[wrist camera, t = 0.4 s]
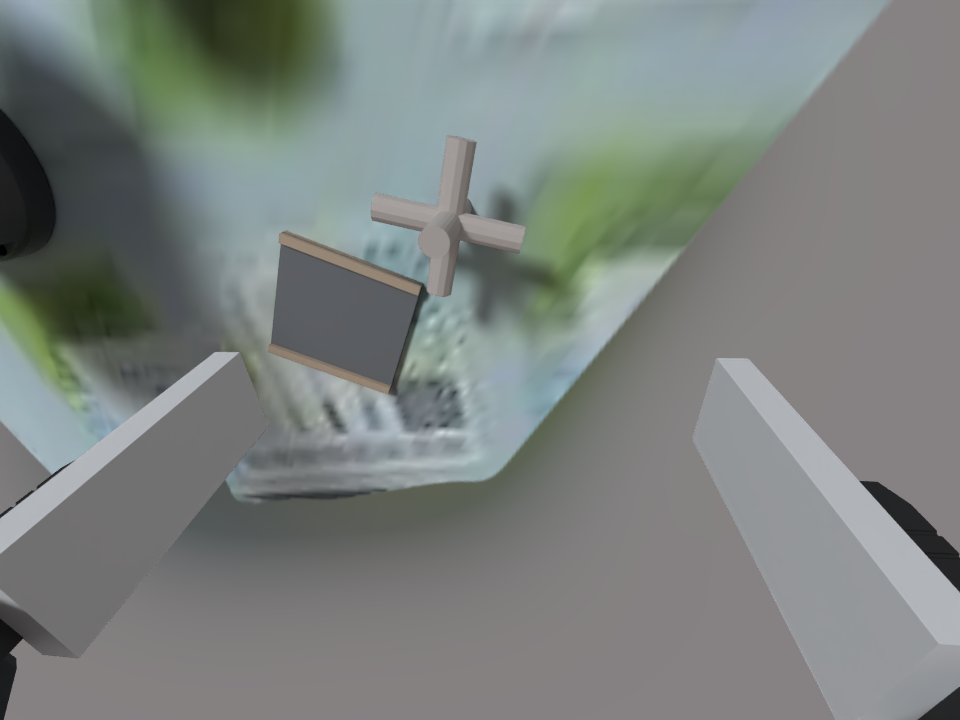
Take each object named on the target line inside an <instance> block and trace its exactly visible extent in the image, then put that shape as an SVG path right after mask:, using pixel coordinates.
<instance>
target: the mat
mask: <svg viewBox="0 0 960 720" xmlns="http://www.w3.org/2000/svg"><path fill="white" fill-rule="evenodd" d="M279 243H280V244H281V249H280V259H279V269H278V279H277V289H276V299H275V309H274V319H273V329H272V339H271V344H270V345H269V349H268V352H270V353H272V354H275V355H278V356H281V357H284V358H287V359H289V360H292V361H295V362H298V363H301V364H304V365H306V366H309V367H312V368H315V369H318V370H320V371H323V372H326V373H329V374H332V375H335V376H337V377H340V378H343V379H346V380H349V381H351V382H354V383H357V384H360V385H363V386H366V387H368V388H371V389H374V390H377V391H380V392H382V393H385V394H388V393H389V391H390V389H391V386H392V383H393V379H394V376H395V373H396V370H397V367H398V363H399V360H400V357H401V354H402V350H403V347H404V344H405V341H406V337H407V334H408V331H409V328H410V324H411V321H412V318H413V315H414V311H415V308H416V305H417V302H418V298H419V295H420V292H421V289H422V285H423V283H421V282H418V281H416V280H413V279H410V278H408V277H405V276H403V275H400V274H397V273H395V272H392V271H390V270H387V269H384V268H382V267H379V266H377V265H374V264H371V263H369V262H366V261H364V260H361V259H358V258H356V257H353V256H351V255H348V254H345V253H343V252H340V251H338V250H335V249H332V248H330V247H327V246H325V245H322V244H319V243H317V242H314V241H312V240H309V239H306V238H304V237H301V236H299V235H296V234H293V233H291V232H288V231H284V232H282V233H280V234H279Z"/></svg>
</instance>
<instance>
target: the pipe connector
mask: <svg viewBox="0 0 960 720" xmlns="http://www.w3.org/2000/svg"><path fill="white" fill-rule="evenodd" d="M475 148H476V141H473V140H470V139H466V138H461V137H457V136H450V135H447V139H446V146H445V154H444V161H443V169H442V176H441V184H440V191H439V199H438V207H437V206H433V205H428V204H424V203H420V202H415V201H411V200H406V199H402V198H397V197H393V196H389V195H384V194H380V193H375V195H374V196H373V199H372V204H371V218H372V221H377V222H381V223H386V224H390V225H395V226H399V227H403V228H408V229H412V230H417V231H421V233H420V234H419V238H418V244H419V247H420V249H421V251H422V252H423V253H424V254H425V255H426V256H428V257H430V258H431V259H430V267H429V274H428V282H427V292H428V293H430V294H432V295H434V296H439V297H446V296H449V295H451V291H452V285H453V279H454V273H455V267H456V261H457V255H458V249H459V243H460V240H461V241H466V242H470V243H474V244H479V245H483V246H488V247H492V248H497V249H501V250H505V251H510V252H514V253H519V252H520V249H521V245H522V241H523V237H524V232H525V226H521V225H517V224H512V223H508V222H504V221H499V220H495V219H490V218H486V217H481V216H477V215H473V214H471V211H472V206H471V203H470V201H469V200H468V198H467V195H468V190H469V184H470V178H471V172H472V166H473V160H474V154H475Z"/></svg>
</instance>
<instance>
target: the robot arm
mask: <svg viewBox="0 0 960 720" xmlns="http://www.w3.org/2000/svg"><path fill="white" fill-rule="evenodd" d="M53 226H54V205H53V199H52V195H51V191H50V188H49V185H48V182H47V180H46V177H45V175H44V173H43V171H42V169H41V166H40V164H39V163H38V161H37V159H36V157H35V155H34V154H33V152H32V151H31V149H30V147H29V146H28V144H27V143H26V141H25V140H24V139H23V137H22V136H21V135H20V133H19V132H18V131H17V129H16V128H15V127H14V126H13V125H12V123H11V122H10V121H9V120H8V119H7V118H6V117H5V115H4V114H3V113H2V112H1V111H0V262H1V261H6V260H10V259H13V258H17V257H21V256H24V255H28V254H31V253H34V252H36V251H37V250H39V249H40V248H42V247H43V246H44V245H45V244H46V243H47V241H48V240H49V238H50V236H51V233H52V230H53ZM268 426H269V425H268V422H267V420H266V417H265V415H264V412H263V410H262V407H261V404H260V402H259V399H258V397H257V394H256V392H255V389H254V387H253V384H252V382H251V379H250V377H249V374H248V372H247V369H246V367H245V364H244V362H243V359H242V357H241V354H240V352H214V353H213V354H212V355H211V356H209V357H208V358H207V359H205V360H204V361H203V362H202V363H200V364H199V365H198V366H196V367H195V368H194V369H193V370H191V371H190V372H189V373H187V374H186V375H185V376H183V377H182V378H181V379H180V380H178V381H177V382H176V383H174V384H173V385H172V386H171V387H169V388H168V389H167V390H165V391H164V392H163V393H162V394H160V395H159V396H158V397H156V398H155V399H154V400H152V401H151V402H150V403H149V404H147V405H146V406H145V407H143V408H142V409H141V410H140V411H138V412H137V413H136V414H134V415H133V416H132V417H131V418H129V419H128V420H127V421H125V422H124V423H123V424H122V425H120V426H119V427H118V428H116V429H115V430H114V431H112V432H111V433H110V434H109V435H107V436H106V437H105V438H103V439H102V440H101V441H100V442H98V443H97V444H96V445H94V446H93V447H92V448H91V449H89V450H88V451H87V452H85V453H84V454H83V455H81V456H80V457H79V458H78V459H76V460H75V461H73V462H71V463H69V464H67V465H65V466H64V467H62V468H60V469H59V470H58V471H57V472H55V473H54V474H53V475H51V476H50V477H49V478H47V479H46V480H45V481H44V482H42V483H41V484H40V485H38V486H37V489H36V490H35V491H31V492H29V493H28V494H27V495H25V496H24V497H23V498H21V499H20V500H19V501H17V502H16V506H15V507H10V508H8V509H7V510H6V511H4V512H3V513H2V514H1V515H0V720H4V716H5V712H6V708H7V704H8V700H9V697H10V692H11V688H12V684H13V681H14V677H15V673H16V669H17V666H16V658H15V657H14V656H12V655H11V654H10V651H11V650H12V649H13V648H14V647H15V646H16V645H17V644H18V643H19V642H20V641H21V640H22V639H24V640H25V641H26V642H28V643H29V644H30V645H31V646H33V647H34V648H35V649H36V650H37V651H39V652H40V653H41V654H42V655H50V656H60V657H70V658H80V657H81V655H82V654H83V653H84V652H85V650H86V649H87V648H88V647H89V646H90V644H91V643H92V642H93V641H94V639H95V638H96V637H97V636H98V634H99V633H100V632H101V631H102V630H103V628H104V627H105V626H106V625H107V624H108V622H109V621H110V620H111V619H112V617H113V616H114V615H115V614H116V612H117V611H118V610H119V609H120V608H121V606H122V605H123V604H124V603H125V601H126V600H127V599H128V598H129V597H130V595H131V594H132V593H133V592H134V590H135V589H136V588H137V587H138V585H139V584H140V583H141V582H142V581H143V579H144V578H145V577H146V576H147V575H148V573H149V572H150V571H151V570H152V568H153V567H154V566H155V565H156V563H157V562H158V561H159V560H160V559H161V557H162V556H163V555H164V554H165V552H166V551H167V550H168V549H169V548H170V546H171V545H172V544H173V543H174V541H175V540H176V539H177V538H178V537H179V535H180V534H181V533H182V532H183V530H184V529H185V528H186V527H187V525H188V524H189V523H190V522H191V520H192V519H193V518H194V517H195V516H196V514H197V513H198V512H199V511H200V510H201V508H202V507H203V506H204V505H205V503H206V502H207V501H208V500H209V498H210V497H211V496H212V495H213V494H214V492H215V491H216V490H217V489H218V487H219V486H220V485H221V484H222V483H223V481H224V480H225V479H226V478H227V476H228V475H229V474H230V473H231V472H232V470H233V469H234V468H235V467H236V465H237V464H238V463H239V462H240V461H241V459H242V458H243V457H244V456H245V454H246V453H247V452H248V451H249V450H250V448H251V447H252V446H253V445H254V443H255V442H256V441H257V440H258V439H259V437H260V436H261V435H262V434H263V432H264V431H265V430H266V429H267V427H268ZM692 439H693V442H694V444H695V446H696V447H697V449H698V451H699V453H700V455H701V457H702V459H703V461H704V463H705V465H706V467H707V469H708V471H709V473H710V475H711V477H712V479H713V481H714V483H715V485H716V486H717V488H718V490H719V493H720V494H721V496H722V498H723V500H724V502H725V504H726V506H727V508H728V510H729V512H730V514H731V516H732V518H733V520H734V522H735V524H736V526H737V528H738V530H739V532H740V534H741V536H742V537H743V539H744V541H745V543H746V545H747V547H748V549H749V551H750V553H751V555H752V557H753V559H754V561H755V563H756V565H757V567H758V569H759V571H760V573H761V575H762V576H763V579H764V581H765V583H766V584H767V586H768V588H769V590H770V592H771V594H772V596H773V598H774V600H775V602H776V604H777V606H778V608H779V610H780V612H781V614H782V616H783V618H784V620H785V622H786V623H787V626H788V628H789V629H790V631H791V633H792V635H793V637H794V639H795V641H796V643H797V645H798V647H799V649H800V651H801V653H802V655H803V657H804V659H805V661H806V663H807V665H808V666H809V669H810V671H811V673H812V674H813V676H814V678H815V680H816V682H817V684H818V686H819V688H820V690H821V692H822V694H823V696H824V698H825V700H826V702H827V704H828V706H829V708H830V710H831V712H832V714H833V715H834V718H835V719H836V720H960V558H959V553H958V552H957V551H956V550H955V549H954V548H953V547H952V546H951V545H950V544H949V543H948V542H947V541H946V540H945V539H944V538H943V537H942V536H938V535H937V531H936V529H935V528H933V526H932V525H931V524H930V523H929V522H928V521H927V520H926V519H925V518H924V517H923V516H922V515H921V514H920V513H919V512H918V511H917V510H916V509H915V508H914V507H913V506H912V505H911V504H909V503H908V502H906V501H905V500H903V499H902V498H900V497H899V496H898V495H896V494H895V493H893V492H892V491H890V490H888V489H887V488H886V487H884V486H883V485H881V484H880V483H878V482H869V481H858V479H857V478H856V477H855V476H854V475H853V474H852V473H851V472H850V471H849V470H848V468H847V467H846V466H845V465H843V463H842V462H841V461H840V460H839V458H838V457H837V456H836V455H835V454H834V453H833V452H832V451H831V450H830V449H829V448H828V446H827V445H826V444H825V443H824V442H823V441H822V440H821V439H820V437H819V436H818V435H817V434H816V433H815V432H814V431H813V430H812V429H811V428H810V426H809V425H808V424H807V423H806V422H805V421H804V420H803V419H802V418H801V416H800V415H799V414H798V413H797V412H796V411H795V410H794V409H793V408H792V407H791V405H790V404H789V403H788V402H787V401H786V400H785V399H784V398H783V397H782V395H781V394H780V393H779V392H778V391H777V390H776V389H775V388H774V387H773V386H772V385H771V383H770V382H769V381H768V380H767V379H766V378H765V377H764V376H763V374H762V373H761V372H760V371H759V370H758V369H757V368H756V367H755V366H754V365H753V363H752V362H751V361H750V360H749V359H741V358H740V359H739V358H717V359H716V362H715V365H714V368H713V372H712V375H711V378H710V382H709V385H708V388H707V392H706V395H705V398H704V402H703V405H702V408H701V412H700V415H699V418H698V422H697V425H696V428H695V432H694V435H693V438H692Z"/></svg>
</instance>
